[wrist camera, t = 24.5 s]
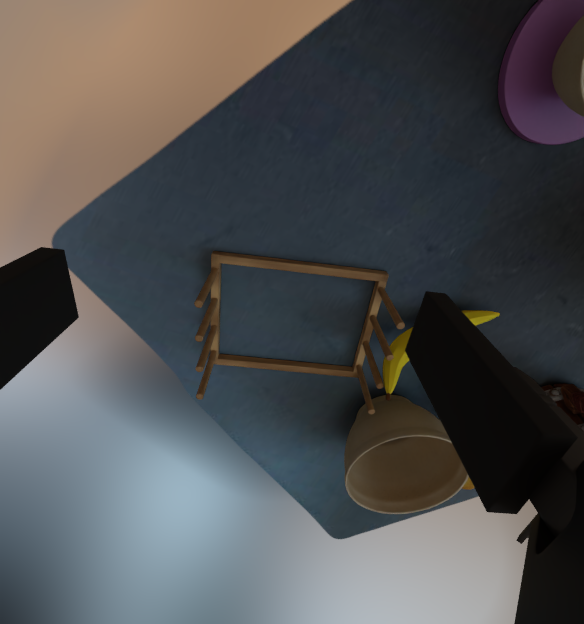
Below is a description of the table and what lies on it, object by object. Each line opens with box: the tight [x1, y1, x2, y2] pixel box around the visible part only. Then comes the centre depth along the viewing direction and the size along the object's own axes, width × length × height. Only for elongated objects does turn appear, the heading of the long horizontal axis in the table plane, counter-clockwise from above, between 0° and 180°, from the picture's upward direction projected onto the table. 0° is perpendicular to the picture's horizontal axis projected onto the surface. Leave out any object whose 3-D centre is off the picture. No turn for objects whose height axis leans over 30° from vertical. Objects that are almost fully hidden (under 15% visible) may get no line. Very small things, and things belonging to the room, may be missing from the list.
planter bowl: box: [344, 395, 469, 514], centre depth 48 cm, size 16×16×11 cm
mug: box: [541, 383, 584, 432], centre depth 46 cm, size 12×14×15 cm
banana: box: [383, 310, 500, 401], centre depth 41 cm, size 3×19×6 cm, turn 108°
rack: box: [194, 251, 405, 414], centre depth 40 cm, size 16×21×10 cm
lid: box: [498, 0, 584, 145], centre depth 30 cm, size 13×13×1 cm
